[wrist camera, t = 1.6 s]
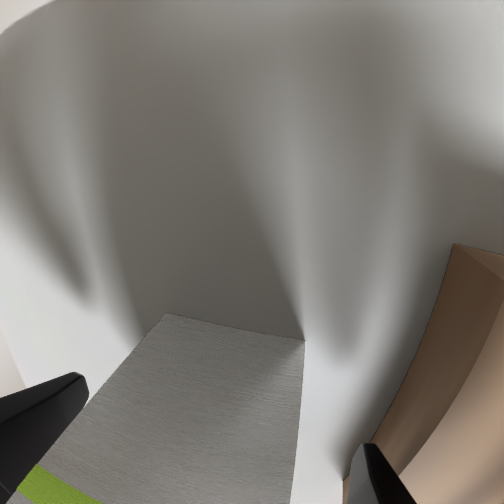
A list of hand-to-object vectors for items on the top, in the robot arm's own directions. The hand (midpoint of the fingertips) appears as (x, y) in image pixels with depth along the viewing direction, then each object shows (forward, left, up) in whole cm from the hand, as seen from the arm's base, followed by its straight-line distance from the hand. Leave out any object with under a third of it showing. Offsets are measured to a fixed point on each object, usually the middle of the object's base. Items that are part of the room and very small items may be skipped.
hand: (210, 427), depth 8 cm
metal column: (0, 0, -2) cm, 2 cm away
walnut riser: (-12, 0, -2) cm, 12 cm away
